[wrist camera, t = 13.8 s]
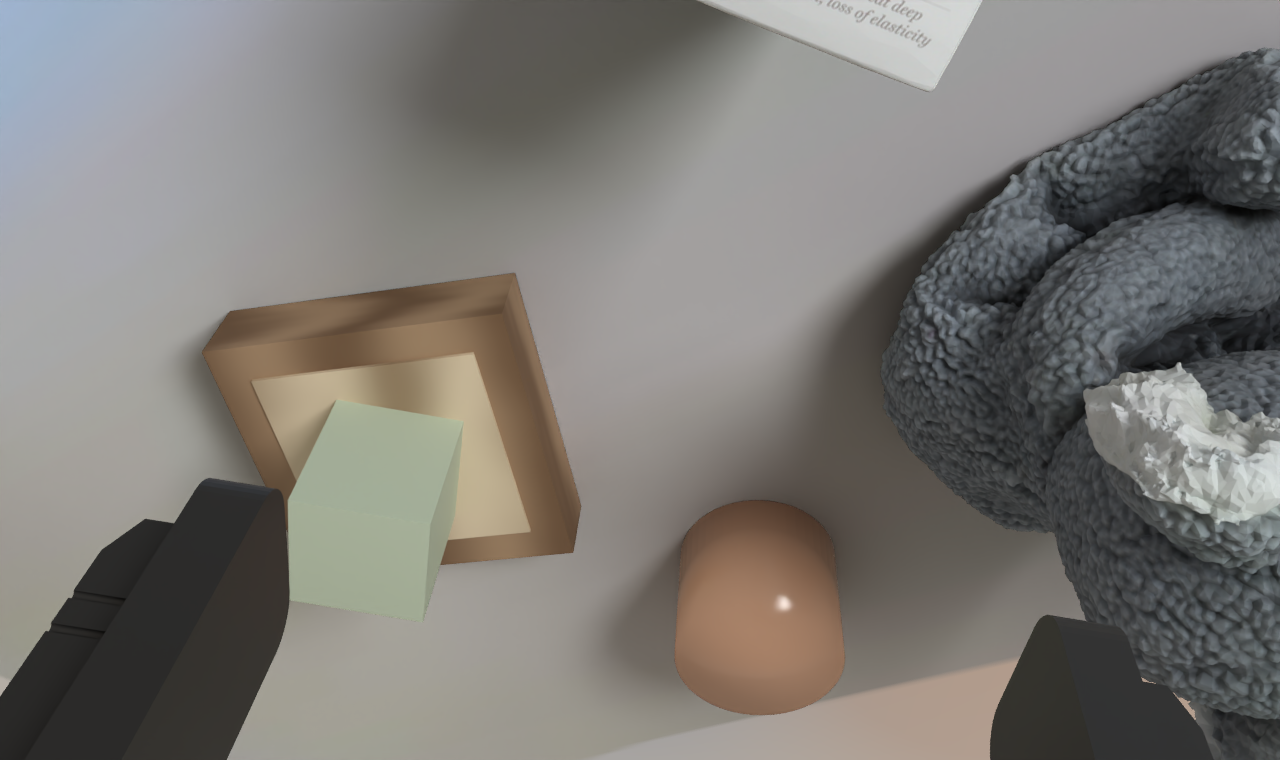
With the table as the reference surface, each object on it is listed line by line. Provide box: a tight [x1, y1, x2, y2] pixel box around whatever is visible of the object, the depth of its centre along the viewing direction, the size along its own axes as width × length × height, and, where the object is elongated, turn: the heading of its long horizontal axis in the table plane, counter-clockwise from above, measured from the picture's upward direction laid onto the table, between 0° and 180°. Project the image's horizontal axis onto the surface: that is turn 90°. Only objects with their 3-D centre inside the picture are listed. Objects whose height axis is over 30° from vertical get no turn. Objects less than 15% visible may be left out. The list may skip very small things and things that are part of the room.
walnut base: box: [202, 273, 581, 565], centre depth 48 cm, size 12×12×3 cm
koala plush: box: [880, 48, 1280, 760], centre depth 36 cm, size 17×18×20 cm
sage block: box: [288, 400, 464, 622], centre depth 44 cm, size 5×5×6 cm
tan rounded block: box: [675, 500, 845, 715], centre depth 50 cm, size 7×7×6 cm
